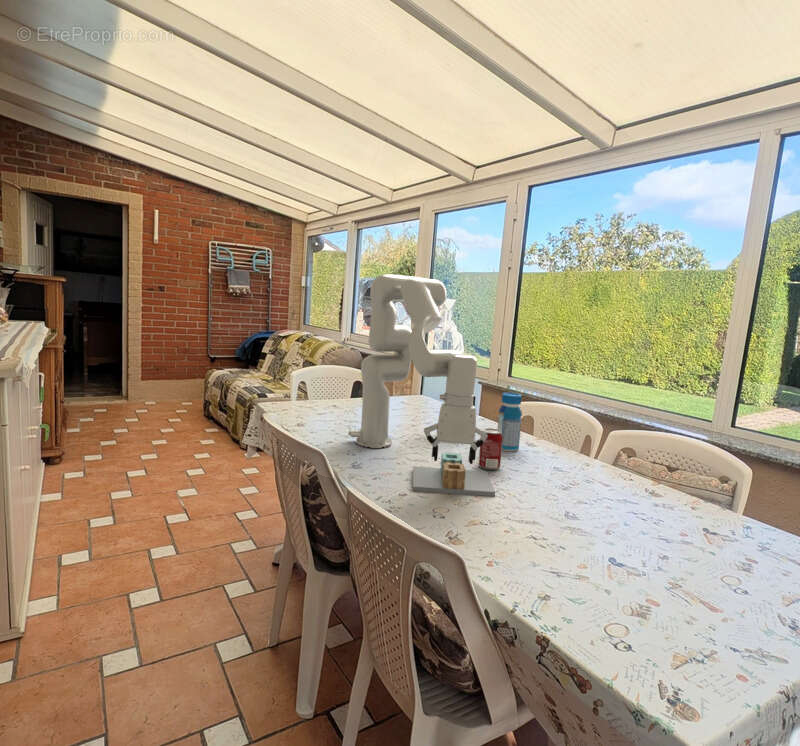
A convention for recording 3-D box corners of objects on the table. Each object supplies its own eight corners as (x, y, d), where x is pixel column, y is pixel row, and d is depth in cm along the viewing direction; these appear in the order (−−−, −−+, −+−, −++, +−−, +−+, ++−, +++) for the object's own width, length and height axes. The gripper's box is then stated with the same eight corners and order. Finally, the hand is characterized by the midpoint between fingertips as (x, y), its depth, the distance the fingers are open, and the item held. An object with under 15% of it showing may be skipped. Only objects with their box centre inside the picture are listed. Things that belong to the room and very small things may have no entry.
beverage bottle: (509, 453, 164) (515, 397, 161) (490, 447, 170) (495, 393, 167) (523, 449, 170) (529, 395, 167) (504, 443, 176) (509, 391, 173)
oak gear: (443, 488, 126) (444, 470, 125) (441, 478, 133) (443, 461, 132) (464, 490, 126) (465, 472, 125) (461, 480, 133) (463, 463, 132)
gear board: (412, 490, 126) (414, 468, 125) (413, 470, 142) (414, 450, 141) (494, 496, 126) (496, 474, 125) (485, 474, 142) (487, 454, 141)
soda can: (499, 472, 144) (503, 434, 143) (477, 469, 146) (480, 432, 144) (499, 465, 151) (503, 429, 149) (478, 462, 152) (481, 426, 151)
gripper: (426, 400, 122) (421, 463, 125) (493, 406, 122) (486, 468, 125) (426, 394, 130) (421, 453, 133) (488, 399, 130) (482, 458, 132)
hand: (452, 460), depth 129 cm, fingers open, 9 cm apart
